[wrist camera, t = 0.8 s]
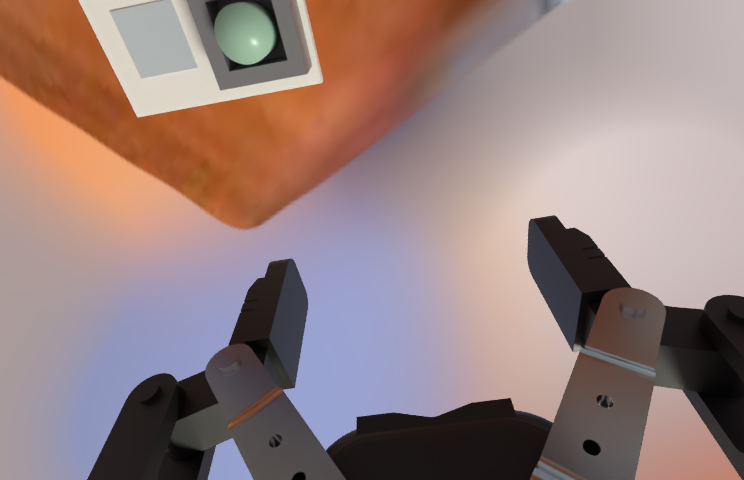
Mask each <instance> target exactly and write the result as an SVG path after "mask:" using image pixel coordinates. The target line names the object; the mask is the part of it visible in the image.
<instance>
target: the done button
mask: <svg viewBox="0 0 744 480" xmlns="http://www.w3.org/2000/svg"><path fill="white" fill-rule="evenodd" d="M214 32H215V37H216V41H217V43H218V45H219V47H220V49H221V50H222V51H223V53H224V54H225V55H226V56H227V57H229V58H230V59H231V60H233V61H235V62H237V63H240V64H245V65H249V64H254V63H257V62H259V61H260V60H262V59H263V58H264V57H265V56H267V55H268V54H269V53H270V52H271V51H272V50H273V48H274V47H275V45H276V42H277V37H278V32H277V26H276V23H275V20H274V18H273V16H272V15H271V13H270V12H269V11H268V10H267V9H266V8H265V7H264V6H262V5H261V4H259V3H256V2H253V1H242V2H238V3H233V4H230V5H227V6H225V7H224V8H223V9H222V10H221V11H220V12H219V13H218V15H217V17H216V20H215V25H214Z"/></svg>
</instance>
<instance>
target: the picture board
mask: <svg viewBox="0 0 744 480" xmlns="http://www.w3.org/2000/svg"><path fill="white" fill-rule="evenodd" d="M79 2H80V4H81V6H82V8H83V10H84V12H85V14H86V16H87V18H88V20H89V22H90V24H91V26H92V28H93V30H94V32H95V34H96V36H97V38H98V40H99V42H100V44H101V46H102V48H103V50H104V52H105V54H106V56H107V58H108V60H109V62H110V64H111V66H112V68H113V70H114V72H115V74H116V76H117V78H118V80H119V82H120V84H121V86H122V88H123V90H124V92H125V94H126V96H127V98H128V99H129V101H130V103H131V105H132V107H133V109H134V111H135V113H136V115H137V117H142V116H148V115H153V114H158V113H164V112H169V111H175V110H180V109H185V108H191V107H196V106H201V105H207V104H212V103H217V102H223V101H228V100H233V99H239V98H244V97H250V96H255V95H260V94H266V93H271V92H276V91H282V90H287V89H292V88H298V87H303V86H308V85H314V84H319V83H323V76H322V72H321V67H320V63H319V59H318V54H317V50H316V46H315V41H314V37H313V32H312V28H311V24H310V19H309V15H308V11H307V6H306V2H305V0H297V3H298V7H299V12H300V16H301V20H302V24H303V28H304V33H305V37H306V41H307V45H308V49H309V54H310V58H311V62H312V67H311V69H310V70H309V72H308V74H306V75H300V76H295V77H290V78H285V79H279V80H274V81H269V82H263V83H258V84H253V85H248V86H242V87H237V88H232V89H226V90H221V91H220V89H219V86H218V83H217V81H216V78H215V75H214V73H213V70H212V67H211V64H210V62H209V59H208V56H207V54H206V51H205V48H204V46H203V43H202V40H201V38H200V35H199V32H198V30H197V27H196V24H195V22H194V19H193V16H192V14H191V11H190V8H189V5H188V3H187V0H79Z"/></svg>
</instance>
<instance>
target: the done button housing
mask: <svg viewBox="0 0 744 480" xmlns="http://www.w3.org/2000/svg"><path fill="white" fill-rule="evenodd" d="M242 1H253V2H256V3H259V4H261V5H262V6H264V7H265V8H266V9H267V10H268V11H269V12H270V13H271V15H272V16H273V18H274V20H275V23H276V26H277V32H278V37H277V42H276V45H275V47H274V48H273V50H272V51H271V52H270V53H269V54H268V55H267V56H265V57H264V58H263V59H262V60H260V61H259V62H257V63H254V64H249V65H245V64H240V63H237V62H235V61H233V60H231V59H230V58H229V57H227V56H226V55H225V54H224V53H223V51H222V50H221V49H220V47H219V45H218V43H217V41H216V37H215V32H214V25H215V20H216V17H217V15H218V13H219V12H220V11H221V10H222V9H223V8H224V7H225V6H227V5H230V4H233V3H238V2H242ZM187 3H188V5H189V8H190V11H191V14H192V16H193V19H194V22H195V24H196V27H197V30H198V32H199V35H200V38H201V40H202V43H203V46H204V48H205V51H206V54H207V56H208V59H209V62H210V64H211V67H212V70H213V73H214V75H215V78H216V81H217V83H218V86H219V89H220V91H221V90H226V89H232V88H237V87H242V86H248V85H253V84H258V83H263V82H269V81H274V80H279V79H285V78H290V77H295V76H300V75H306V74H308V72H309V70H310V69H311V67H312V62H311V58H310V54H309V49H308V45H307V41H306V37H305V33H304V28H303V24H302V20H301V16H300V12H299V7H298V3H297V0H187Z"/></svg>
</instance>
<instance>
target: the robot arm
mask: <svg viewBox="0 0 744 480" xmlns="http://www.w3.org/2000/svg"><path fill="white" fill-rule="evenodd" d="M527 255H528V256H527V257H528V258H527V259H528V266H529V269H530V272H531V274H532V277H533V279H534V280H535V282H536V284H537V286H538V288H539V290H540V292H541V293H542V295H543V297H544V299H545V301H546V303H547V304H548V306H549V308H550V310H551V312H552V314H553V316H554V318H555V319H556V321H557V323H558V325H559V327H560V329H561V331H562V333H563V334H564V336H565V338H566V340H567V342H568V344H569V345H570V347H571V349H572V351H573V352H577V351H580V353H579V355H578V358H577V360H576V363H575V366H574V368H573V371H572V374H571V376H570V379H569V382H568V385H567V387H566V390H565V393H564V395H563V398H562V401H561V403H560V406H559V409H558V412H557V414H556V417H555V419H554V422H553V423H552V422H550V421H548V420H546V419H544V418H542V417H539V416H536V415H533V414H531V413H527V412H522V411H516V410H514V407H513V404H512V401H511V399H510V398H508V399H499V400H491V401H484V402H476V403H470V404H468V405H465V406H462V407H460V408H457V409H455V410H452V411H450V412H447V413H444V414H442V415H440V416H436V417H424V416H416V415H408V414H401V413H386V414H378V415H370V416H362V417H357V429H356V430H354V431H352V432H350V433H348V434H346V435H345V436H342V437H341V438H340V439H338V440H337V441H335V442H334V443H333V444H332V445H331V446H330V447H329V448H328V449H327V450H326V451H325V449H324V448H323V446H322V445H321V444H320V442H319V441H318V440H317V438H316V436H315V435H314V434H313V432H312V431H311V429H310V428H309V427H308V425H307V424H306V422H305V421H304V420H303V418H302V417H301V415H300V414H299V412H298V411H297V410H296V408H295V407H294V405H293V404H292V403H291V401H290V400H289V398H288V397H287V396H286V394H285V393H284V391H283V389H290V388H295V382H296V377H297V371H298V365H299V358H300V352H301V346H302V340H303V334H304V328H305V322H306V316H307V310H308V299H307V293H306V290H305V287H304V285H303V282H302V280H301V277H300V275H299V272H298V269H297V267H296V264H295V262H294V260H293V259H285V260H279V261H273V262H270V263H269V266H268V269H267V272H266V275H265V277H264V278H259V279H257V280H256V282H254V284H253V285H252V286H251V287H250V288H249V290H248V292H247V295H246V298H245V303H244V304H243V306H242V309H241V313H240V315H239V317H238V320H237V323H236V326H235V329H234V331H233V334H232V337H231V340H230V343H229V345H228V347H225V348H223V349H222V350H220V351H219V352H218V353H216V354H215V355H214V356H213V357H212V358H211V360H210V361H209V363H208V364H207V366H206V370H205V371H203V372H201V373H198V374H196V375H194V376H191V377H189V378H186V379H184V380H182V381H179V382H177V380H176V379H175V378H174V377H173V376H172V375H170V374H166V373H163V374H157V375H154V376H152V377H150V378H148V379H146V380H144V381H143V382H141V383H140V384H139V385H138V386H137V387H136V388H135V389H134V390H133V391H132V392H131V393H130V395H129V396H128V398H127V400H126V402H125V404H124V406H123V408H122V410H121V412H120V414H119V416H118V418H117V420H116V422H115V424H114V426H113V428H112V430H111V432H110V434H109V436H108V439H107V441H106V442H105V444H104V446H103V448H102V451H101V453H100V455H99V457H98V459H97V461H96V463H95V465H94V467H93V469H92V471H91V473H90V475H89V477H88V479H87V480H207V479H208V475H209V471H210V467H211V463H212V459H213V455H214V451H215V447H216V445H217V444H219V443H222V442H224V441H226V440H228V439H231V438H233V439H234V441H235V443H236V445H237V447H238V449H239V451H240V453H241V455H242V457H243V459H244V461H245V463H246V465H247V467H248V469H249V471H250V473H251V475H252V477H253V479H254V480H635V475H636V470H637V465H638V460H639V455H640V450H641V445H642V440H643V436H644V431H645V426H646V421H647V416H648V411H649V406H650V401H651V396H652V392H653V386H661V387H667V388H675V389H681V390H683V392H684V393H685V395H686V396H687V398H688V399H689V400H690V402H691V404H692V405H693V407H694V408H695V410H696V411H697V413H698V414H699V415H700V417H701V419H702V420H703V422H704V423H705V424H706V426H707V428H708V429H709V431H710V432H711V434H712V435H713V437H714V438H715V440H716V441H717V443H718V444H719V445H720V447H721V449H722V450H723V452H724V453H725V454H726V456H727V458H728V459H729V460H730V462H731V464H732V465H733V466H734V468H735V470H736V471H737V473H738V474H739V476H740V477H741V479H742V480H744V297H741V296H735V295H734V296H733V295H722V296H716V297H713V298H712V299H710V300H709V301H708V302H707V303H706V305H705V307H704V310H702V309H690V308H679V307H669V306H664V305H663V303H662V302H661V301H660V300H659V299H658V298H656V297H655V296H653V295H652V294H650V293H648V292H645V291H643V290H639V289H635V288H632V287H631V286H630V285H629V284H628V283H627V282H626V280H625V279H624V278H623V276H622V275H621V274H620V273H619V272H618V271H617V269H616V268H615V267H614V266H613V264H612V263H611V262H610V261H609V260H608V259H607V257H605V255H604V253H603V252H602V251H601V250H600V249H598V247H597V245H596V244H595V243H594V241H593V240H592V239H591V238H590V236H588V235H587V234H585V233H583V232H581V231H579V230H578V229H576V228H570V229H566V228H565V227H564V226H563V224H562V223H561V222H560V221H559V219H558V218H557V217H556V216H548V217H542V218H535V219H531V220H530V221H529V229H528V253H527Z"/></svg>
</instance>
